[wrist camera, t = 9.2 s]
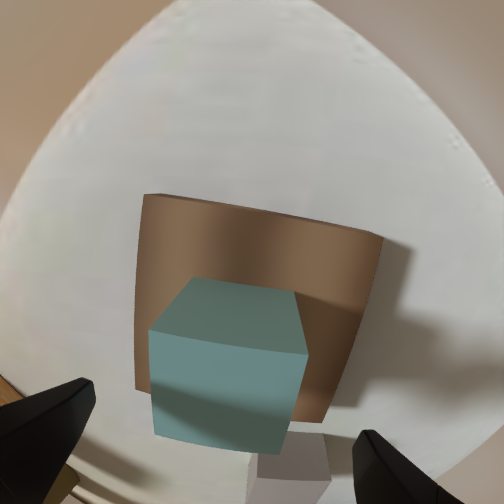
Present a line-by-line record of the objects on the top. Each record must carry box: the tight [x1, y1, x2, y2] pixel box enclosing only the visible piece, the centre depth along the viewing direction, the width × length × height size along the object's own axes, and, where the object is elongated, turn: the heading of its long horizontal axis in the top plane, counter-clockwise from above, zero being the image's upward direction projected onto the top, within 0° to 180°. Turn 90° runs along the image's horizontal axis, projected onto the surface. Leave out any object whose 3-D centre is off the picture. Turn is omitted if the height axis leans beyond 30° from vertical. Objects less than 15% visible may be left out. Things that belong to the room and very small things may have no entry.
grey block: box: [245, 431, 332, 504], centre depth 17 cm, size 5×5×5 cm
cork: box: [43, 463, 80, 504], centre depth 18 cm, size 6×6×11 cm
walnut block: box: [134, 193, 383, 423], centre depth 16 cm, size 12×12×3 cm
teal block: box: [148, 277, 309, 455], centre depth 12 cm, size 5×5×6 cm
